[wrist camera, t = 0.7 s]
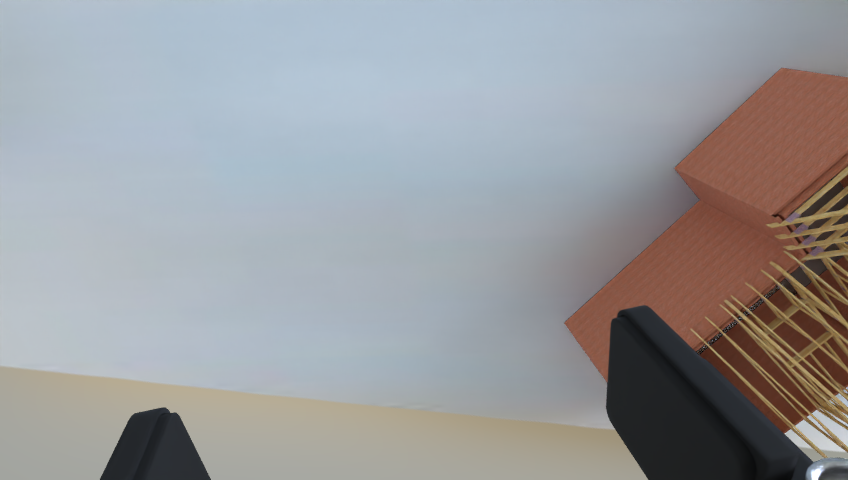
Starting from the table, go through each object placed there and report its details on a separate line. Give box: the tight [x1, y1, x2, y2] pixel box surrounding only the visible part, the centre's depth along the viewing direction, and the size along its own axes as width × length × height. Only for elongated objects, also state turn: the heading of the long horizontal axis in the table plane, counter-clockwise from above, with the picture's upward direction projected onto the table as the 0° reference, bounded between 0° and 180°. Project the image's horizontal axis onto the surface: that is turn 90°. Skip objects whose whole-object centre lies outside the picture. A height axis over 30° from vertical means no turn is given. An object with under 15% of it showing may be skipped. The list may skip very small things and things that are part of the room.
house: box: [564, 68, 848, 458], centre depth 39 cm, size 28×23×19 cm
